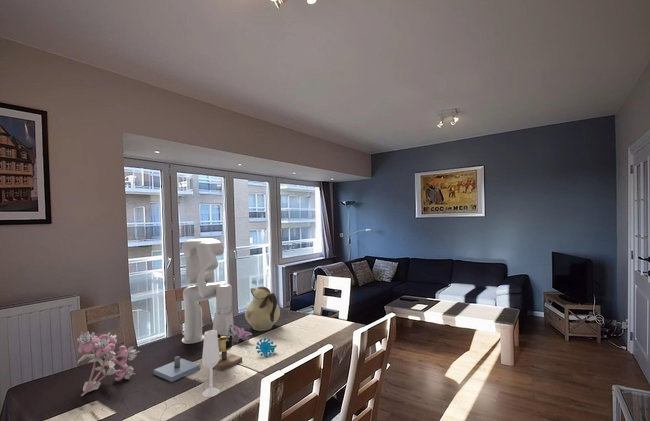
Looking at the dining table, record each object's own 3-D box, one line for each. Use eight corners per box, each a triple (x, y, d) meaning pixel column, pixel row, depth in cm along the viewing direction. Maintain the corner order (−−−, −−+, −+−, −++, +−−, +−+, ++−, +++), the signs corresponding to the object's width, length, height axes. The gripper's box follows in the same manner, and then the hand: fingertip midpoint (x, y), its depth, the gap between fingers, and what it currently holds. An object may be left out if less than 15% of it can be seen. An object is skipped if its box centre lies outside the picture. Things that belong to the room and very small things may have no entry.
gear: (256, 356, 159) (255, 337, 166) (254, 361, 162) (253, 342, 169) (278, 355, 163) (276, 336, 170) (275, 360, 166) (273, 342, 173)
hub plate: (153, 374, 145) (153, 359, 145) (181, 362, 157) (181, 349, 157) (171, 381, 137) (171, 366, 138) (199, 369, 149) (199, 354, 149)
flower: (118, 397, 123) (137, 328, 135) (53, 397, 119) (78, 327, 131) (135, 395, 140) (150, 335, 152) (79, 395, 137) (99, 333, 149)
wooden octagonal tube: (213, 349, 155) (213, 339, 155) (224, 345, 160) (224, 335, 160) (222, 352, 151) (222, 342, 151) (233, 348, 157) (233, 337, 157)
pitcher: (252, 321, 220) (252, 285, 221) (285, 322, 217) (285, 285, 217) (239, 333, 198) (239, 292, 198) (276, 334, 194) (276, 293, 195)
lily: (253, 345, 180) (256, 327, 185) (235, 342, 173) (238, 323, 178) (242, 347, 187) (245, 330, 192) (224, 344, 181) (227, 326, 186)
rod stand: (205, 365, 153) (205, 352, 153) (225, 356, 163) (225, 344, 164) (222, 371, 147) (222, 357, 147) (242, 361, 157) (242, 348, 157)
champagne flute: (202, 398, 124) (202, 335, 125) (201, 390, 130) (201, 330, 131) (220, 394, 126) (220, 333, 127) (218, 386, 133) (218, 328, 134)
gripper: (205, 309, 158) (205, 345, 157) (229, 314, 148) (229, 353, 148) (218, 305, 164) (218, 340, 164) (242, 310, 155) (242, 347, 154)
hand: (223, 346), depth 156 cm, fingers closed on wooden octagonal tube, 6 cm apart
